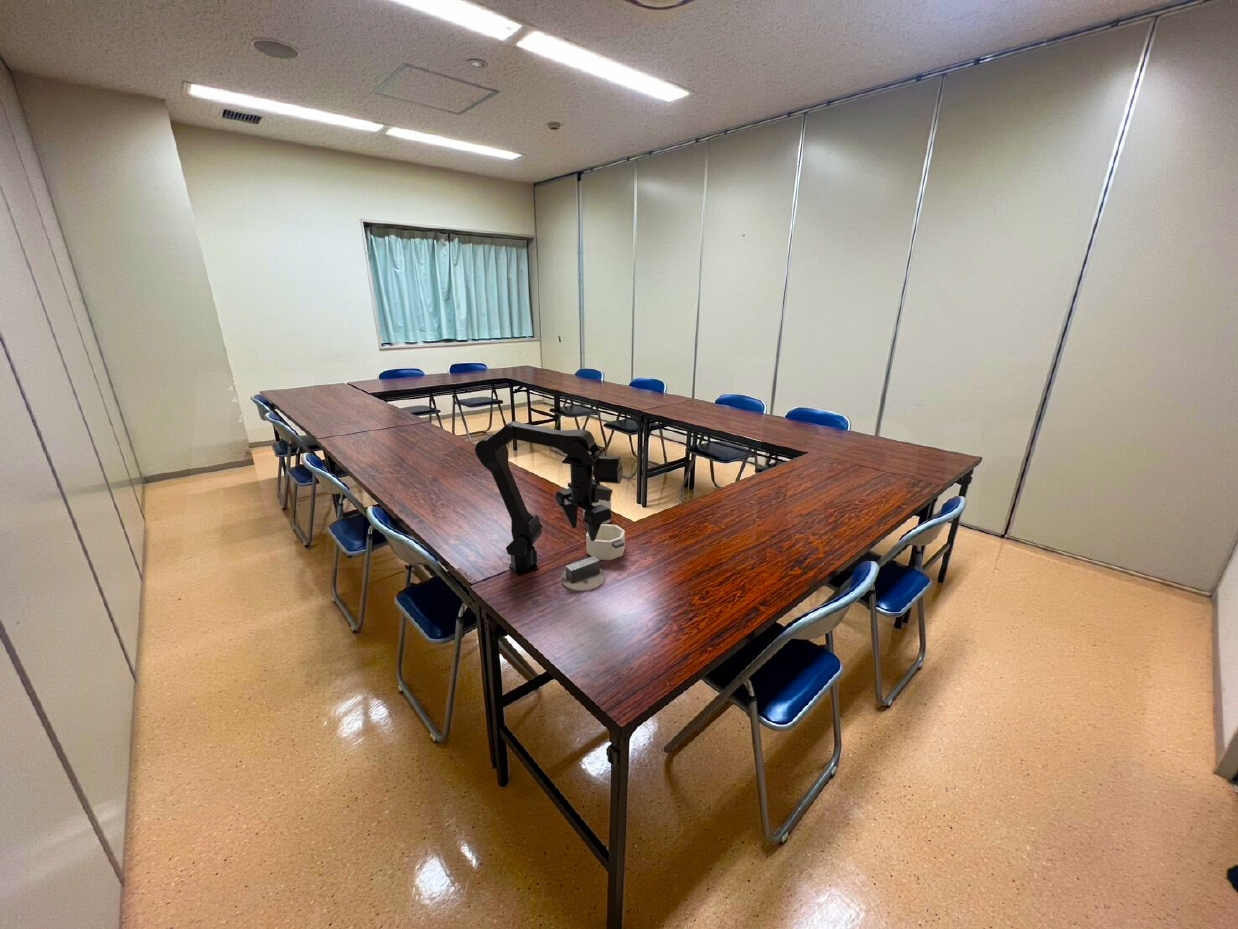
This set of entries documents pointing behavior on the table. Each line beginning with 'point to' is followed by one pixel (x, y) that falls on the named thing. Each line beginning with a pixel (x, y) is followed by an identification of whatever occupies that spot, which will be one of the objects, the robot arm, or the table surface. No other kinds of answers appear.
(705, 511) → the table surface
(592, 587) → the cooker lid
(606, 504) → the photo printer
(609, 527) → the cooker pot
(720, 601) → the table surface
